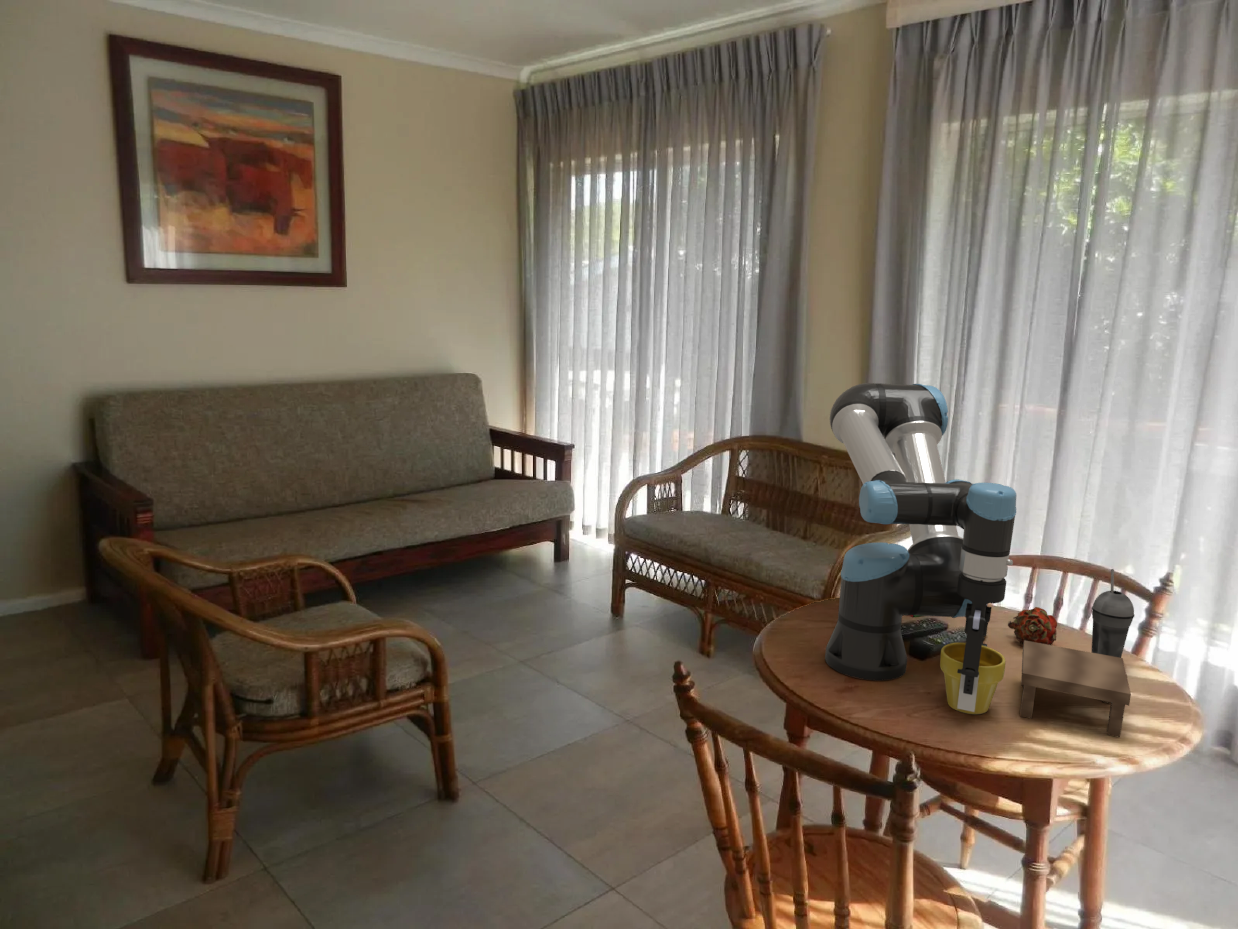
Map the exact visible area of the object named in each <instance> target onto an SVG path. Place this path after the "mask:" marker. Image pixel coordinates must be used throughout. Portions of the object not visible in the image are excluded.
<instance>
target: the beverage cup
mask: <svg viewBox="0 0 1238 929" xmlns="http://www.w3.org/2000/svg"><path fill="white" fill-rule="evenodd" d="M1114 579H1115V569H1114V568H1111V569H1110V590H1106V591H1103V592H1101V593H1100V594H1098V596H1097V597H1095V599H1094V601H1093V604H1092V606H1091V616H1092V618H1091V619H1092V630H1091V631H1092V633H1091V634H1092V635H1091V651H1090V652H1091V653H1097V654H1102V655H1108V656H1113V657H1119V658H1122V656H1123V652H1124V649H1125V648H1124V647H1125V644H1126V641H1127V637H1128V633H1129V630H1130V627H1131V625H1132V622H1133V619H1134V618H1135V607H1134V605H1133V602H1132V600H1131V599H1130V597H1128V596H1127V595H1126V594H1125V593H1123V592H1121V591H1118V590H1114V589H1115V588H1114V587H1115V586H1114V584H1115V580H1114Z"/></svg>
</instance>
